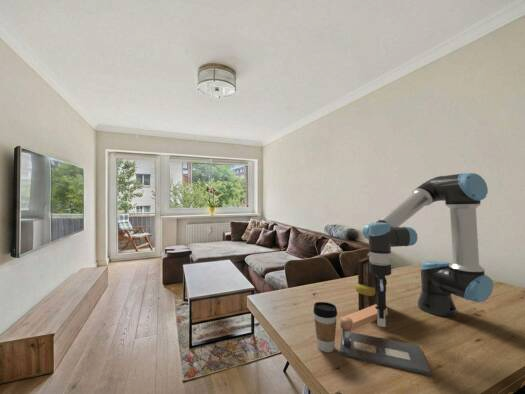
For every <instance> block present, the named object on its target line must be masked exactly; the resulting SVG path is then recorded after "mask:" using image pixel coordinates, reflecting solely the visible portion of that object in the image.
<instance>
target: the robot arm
mask: <svg viewBox="0 0 525 394" xmlns="http://www.w3.org/2000/svg"><path fill="white" fill-rule="evenodd" d="M488 192H489V191H488V184H487V182H486V180H485V179H484V178H483V177H482V176H481V175H480V174H478V173H475V172H467V173H466V172H465V173H464V172H463V173H457V174H450V175H439V176H436V177H432V178H431V179H429V180H426V181H425V182H423V183H422V184H420V185H418V187H416V188H414V189H413V190H412V192H411V194H410V195H409V196H408V197H406V198H405V199H404V200H403V201H401V202H400V203H399V204H398V205H397V206H394V207H393V208H392V209H391V210H390V211H389V212H387V213H386V214H385V215H383V216H382V217H381V218H379V219H378V220H377V221H376V222H370V223H367V224H365V225H364V226H363V228H362V235H363V237H364V238H365V239H366V240H367V241H368V250H369V252H368V253H367V257H369V256H370V257H369V261H370V263H369V271H370V273H372V274H376V276H377V277H374V280H375V287H376V295H377V300H376V302H377V306H375V308H376V309H377V320H376V321H377V323H376V324H377V326H378V327H381V328H382V327H384V328H385V327H387V326H386V316H385V310H386V308H387V301H386V299H387V298H386V295H387V294H386V293H387V284H388V283H387V278H386V276H387V277H388V276H390V275H392V248H394V247H395V248H396V247H410V246H414V245H415V244H416V243H417V242H418V233H417V231H416V230H415V229H414V228H413V227H411V226H410V227H409V226H402V225H403V224H404V223H405V222H407V221H408V220H409V219H410V218H412V217H413V216H415V215H416V213H418V212H419V211H420V210H422V209H423V208H424V207H427V206H430V205H432V204H433V203H435V202H441V201H443V202H445V206H446V207H448V208H449V210H450V211H449V214H450V228H451V229H450V231H451V234H450V235H451V247H452V249H451V250H452V253H451V254H452V262H451V263H450V262H447V261H437V260H429V261H428V260H427V261H423V262H421V264H420V282H421V292H420V294H419V296H418V300H417V306H418V308H419V309H420V310H422V311H424V312H425V313H428V314H431V315H435V316H440V317H455V316H456V315H457V306H456V304H455V302H454V299H453V297H452V295H454V296H456V297H460V298H463V299H465V300H467V301H471V302H475V303H483V302H486V301H487V300H488V299H489V298H490V297H491V295H492V293H493V290H494V281H493V280H492V278H491V277H490V276H488V275H486V273H485V268H484V267H482V266H481V265H480V258H479V257H480V255H479V238H478V236H479V235H478V223H477V208H478V207H479V206H480V205H481V201H482V200H483V201H484V199H486V198H487V195H488ZM384 276H385V278H384Z"/></svg>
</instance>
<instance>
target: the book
mask: <svg viewBox="0 0 525 394" xmlns="http://www.w3.org/2000/svg"><path fill="white" fill-rule="evenodd" d="M369 257H370V256H366V257H364V258H361V259H359V260H357V276H358V277H357V284H356V285H355V291H356V292H357V293H358V311H360V310H362V309H365V308H367V307H370V306H373V305H375V304H377V302H376V300H377V295H376V287H375V280H374V277H377V276H376V274H372V273H370V271H369V263H370V261H369ZM384 278H386V276H384Z"/></svg>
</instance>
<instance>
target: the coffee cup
mask: <svg viewBox="0 0 525 394" xmlns="http://www.w3.org/2000/svg"><path fill="white" fill-rule="evenodd" d="M313 305H314V306H313V313H314V325H315V327H314V328H315V334H316V346H317V348H318V350H319V351H321V352H324V353H331V352H333V351H334V350H335V340H336V330H337V316H338V310H337V306H336V305H335V304H333V303H330V302H325V301H317V302H314V304H313Z"/></svg>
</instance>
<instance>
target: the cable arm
mask: <svg viewBox="0 0 525 394" xmlns="http://www.w3.org/2000/svg"><path fill="white" fill-rule="evenodd" d="M375 306H377V304H375V305H373V306H370V307H367V308H365V309H362V310H360V311H359V310H356V311H354V312H352V313H350V314H349V313H348V314H347V315H344V316H341V317H340V322H339V323H340V328H341V330H342V329H344V330H351V331H354V330H356V329H358V328H361V327H363V326H366V325H367V324H370V323H372V322H374V321H377V309H376V308H375ZM388 311H389V310H388V308H387V307H386V310H385V317H386V316H388V315H389V312H388Z"/></svg>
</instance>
